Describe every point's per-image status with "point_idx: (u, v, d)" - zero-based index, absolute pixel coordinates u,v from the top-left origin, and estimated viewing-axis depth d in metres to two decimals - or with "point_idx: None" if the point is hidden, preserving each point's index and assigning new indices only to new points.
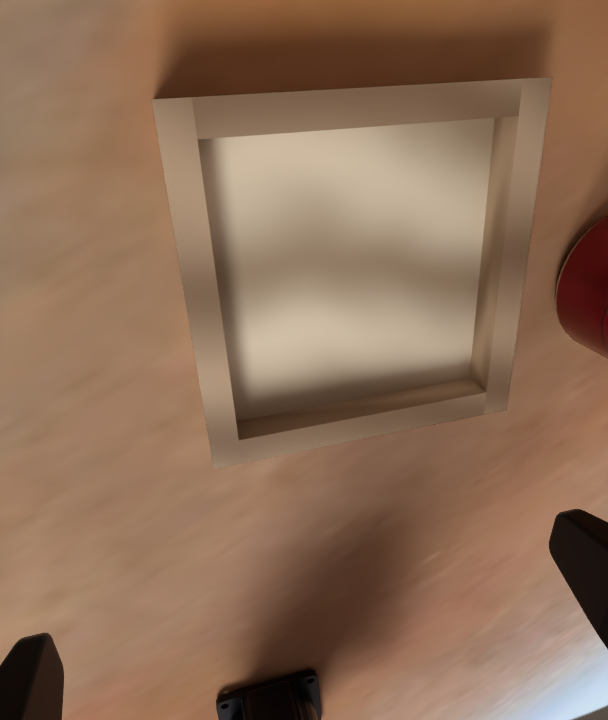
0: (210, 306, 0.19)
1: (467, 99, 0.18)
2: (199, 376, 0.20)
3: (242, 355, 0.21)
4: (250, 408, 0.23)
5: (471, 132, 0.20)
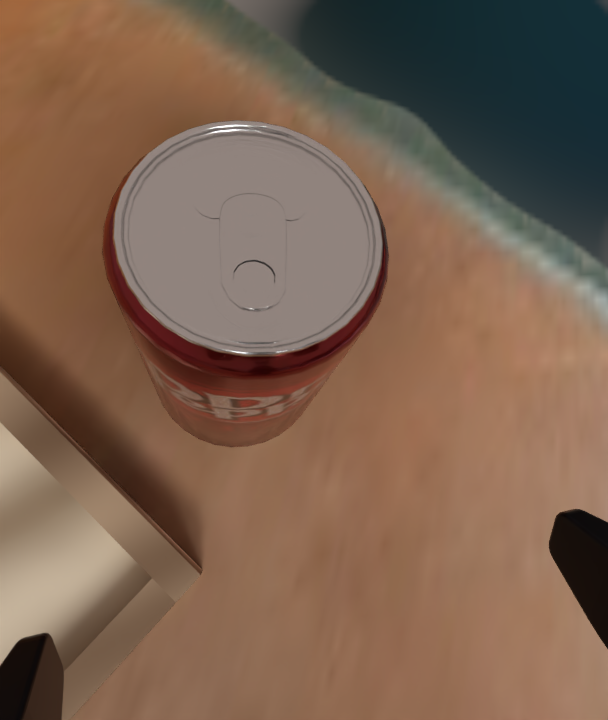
0: None
1: None
2: None
3: None
4: None
5: None
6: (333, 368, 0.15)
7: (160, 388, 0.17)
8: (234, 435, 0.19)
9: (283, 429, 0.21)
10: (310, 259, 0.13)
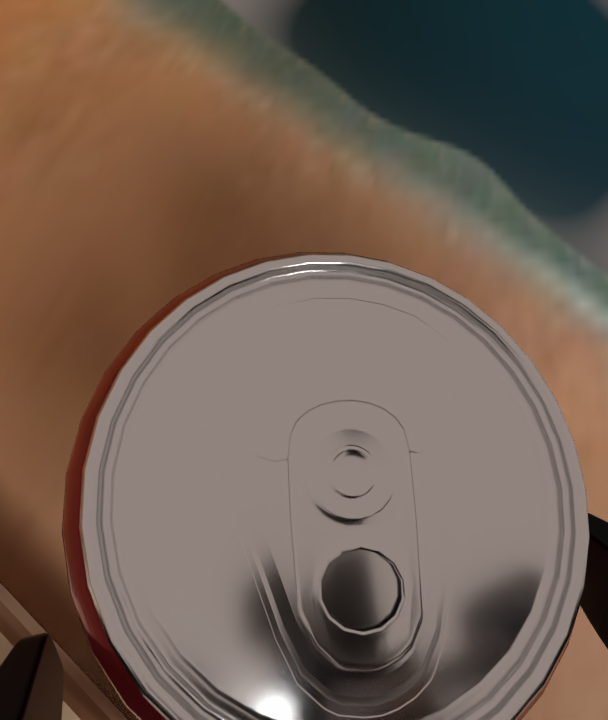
0: None
1: None
2: None
3: None
4: None
5: None
6: None
7: None
8: None
9: None
10: (460, 533, 0.07)
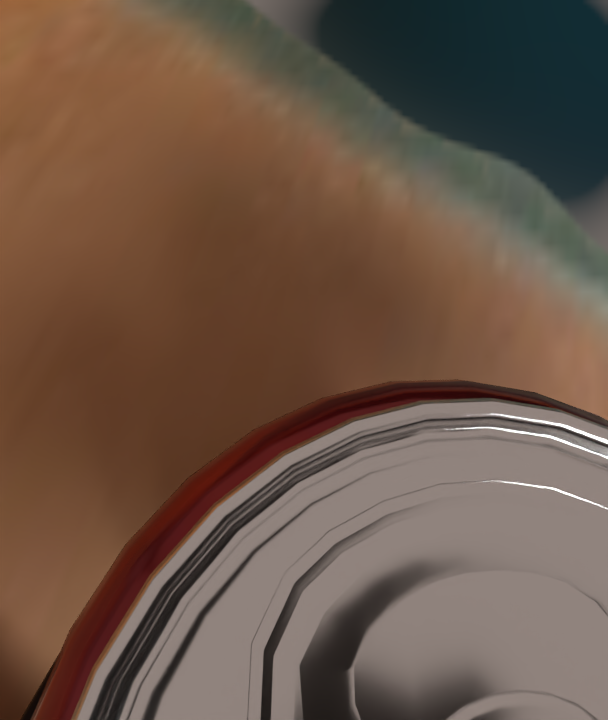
0: None
1: None
2: None
3: None
4: None
5: None
6: None
7: None
8: None
9: None
10: None
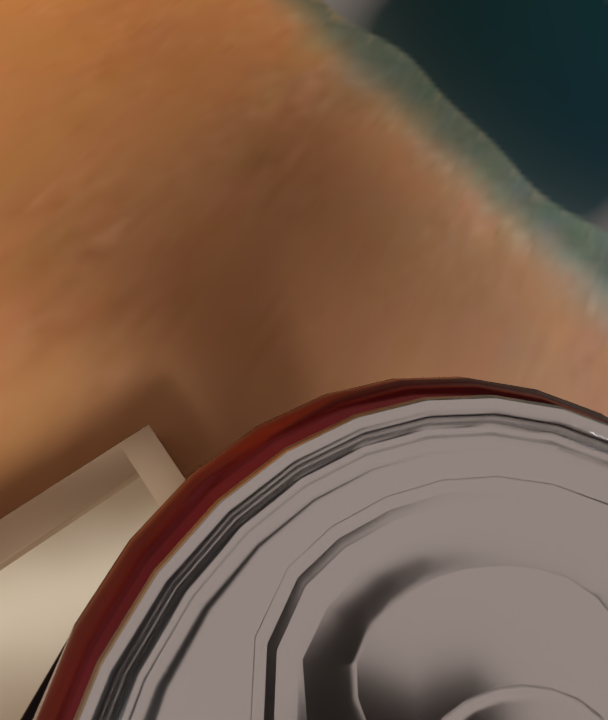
0: None
1: (71, 492, 0.17)
2: None
3: None
4: None
5: (127, 501, 0.19)
6: None
7: None
8: None
9: None
10: None
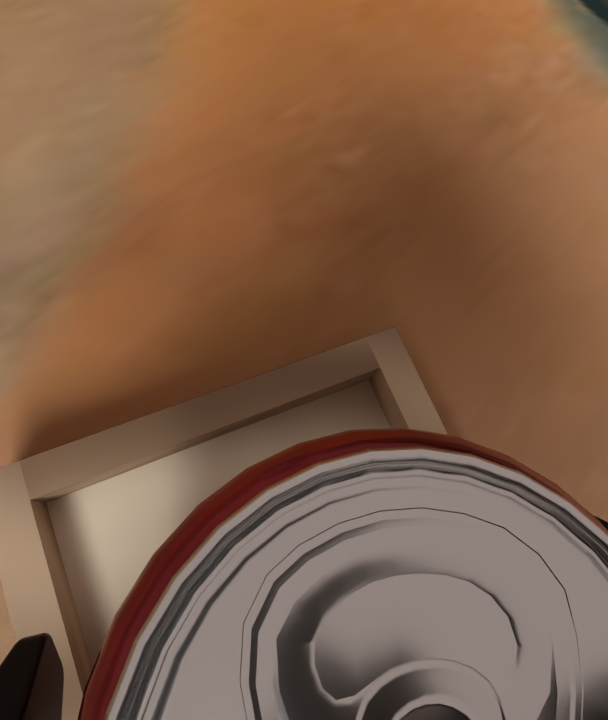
0: (71, 711, 0.13)
1: (317, 370, 0.17)
2: None
3: None
4: None
5: (351, 401, 0.19)
6: None
7: None
8: None
9: None
10: None
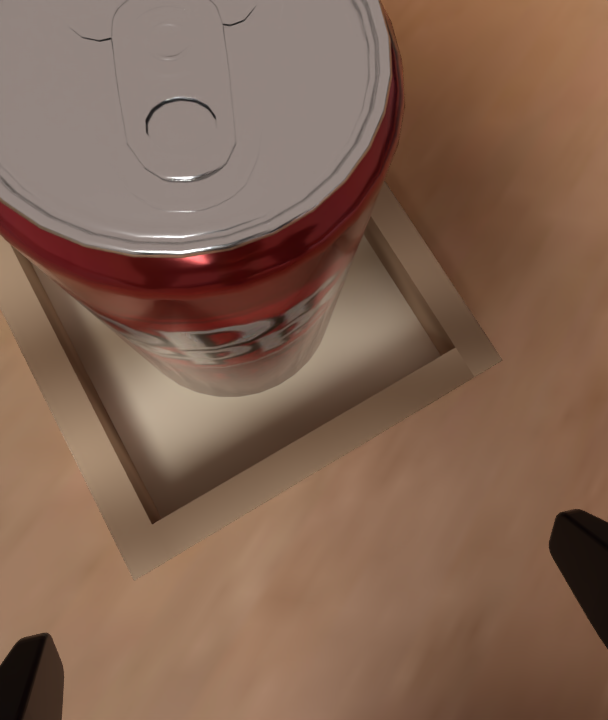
0: (59, 365, 0.17)
1: None
2: (72, 451, 0.16)
3: (140, 428, 0.18)
4: (176, 494, 0.18)
5: None
6: (342, 268, 0.10)
7: None
8: (233, 383, 0.15)
9: (298, 366, 0.17)
10: (271, 82, 0.07)
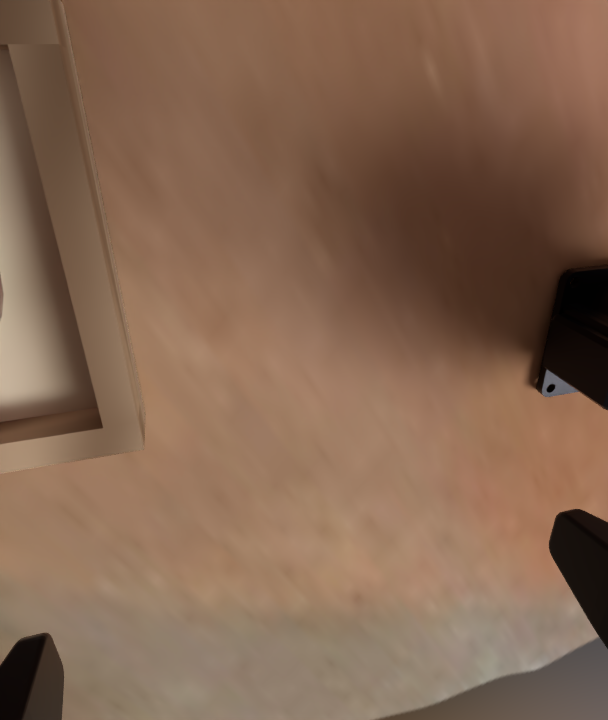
0: None
1: None
2: (13, 470, 0.18)
3: (11, 402, 0.18)
4: (87, 390, 0.19)
5: None
6: None
7: None
8: None
9: None
10: None
